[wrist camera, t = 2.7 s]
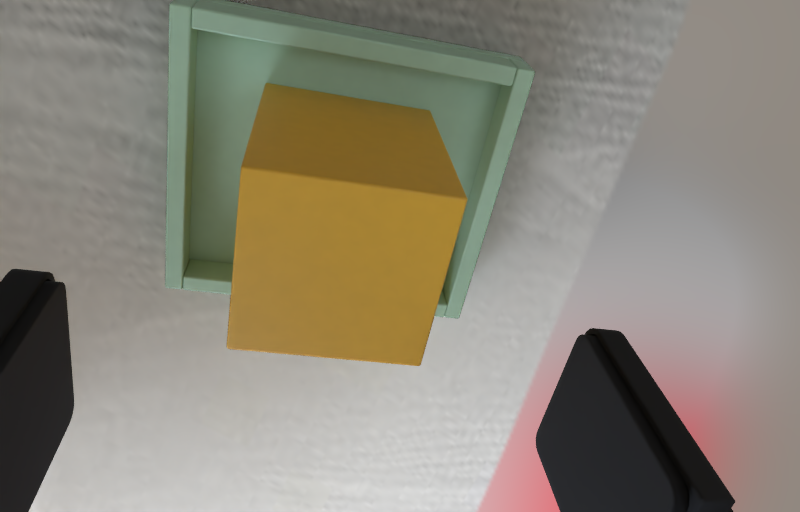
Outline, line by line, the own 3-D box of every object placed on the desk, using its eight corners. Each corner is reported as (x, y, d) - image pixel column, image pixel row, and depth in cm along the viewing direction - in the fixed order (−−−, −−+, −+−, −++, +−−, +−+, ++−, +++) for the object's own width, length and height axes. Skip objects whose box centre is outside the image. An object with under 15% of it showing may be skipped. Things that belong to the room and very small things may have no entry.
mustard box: (430, 109, 17) (468, 198, 13) (398, 248, 20) (420, 367, 15) (265, 81, 16) (240, 165, 12) (251, 230, 19) (225, 350, 14)
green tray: (521, 56, 17) (536, 71, 16) (451, 292, 21) (459, 319, 20) (181, -9, 16) (168, 2, 14) (175, 261, 20) (164, 288, 18)
